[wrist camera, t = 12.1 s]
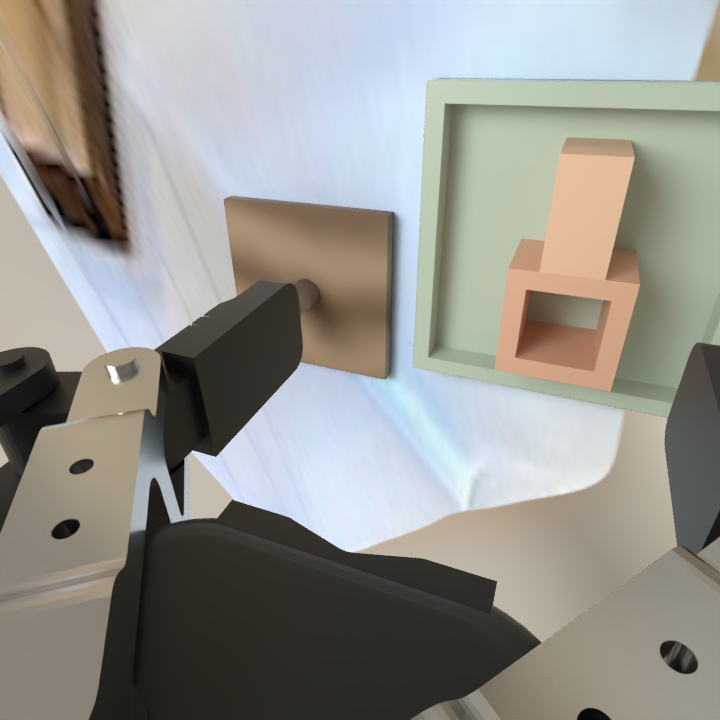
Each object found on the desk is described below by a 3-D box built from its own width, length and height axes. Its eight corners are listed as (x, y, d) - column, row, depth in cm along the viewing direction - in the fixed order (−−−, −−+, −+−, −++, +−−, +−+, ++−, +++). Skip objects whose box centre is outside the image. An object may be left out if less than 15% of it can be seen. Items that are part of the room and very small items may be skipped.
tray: (439, 78, 29) (426, 80, 27) (818, 82, 23) (837, 86, 21) (423, 349, 38) (412, 367, 36) (695, 399, 32) (701, 424, 30)
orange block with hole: (610, 347, 32) (610, 391, 28) (508, 330, 34) (494, 370, 30) (664, 141, 26) (674, 159, 22) (536, 135, 28) (524, 151, 24)
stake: (231, 195, 37) (160, 225, 31) (393, 211, 34) (346, 249, 28) (251, 344, 44) (194, 392, 38) (389, 372, 40) (350, 431, 34)
